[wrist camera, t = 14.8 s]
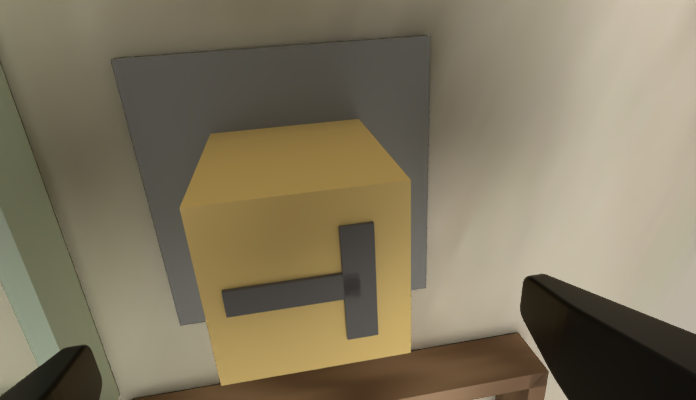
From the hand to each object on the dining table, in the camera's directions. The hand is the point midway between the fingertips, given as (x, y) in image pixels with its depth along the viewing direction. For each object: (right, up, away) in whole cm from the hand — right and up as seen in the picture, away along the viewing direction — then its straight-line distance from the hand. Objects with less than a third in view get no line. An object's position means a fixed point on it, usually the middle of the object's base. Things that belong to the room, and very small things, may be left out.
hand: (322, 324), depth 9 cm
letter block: (-1, +3, +7) cm, 8 cm away
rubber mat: (-1, +3, +7) cm, 8 cm away
